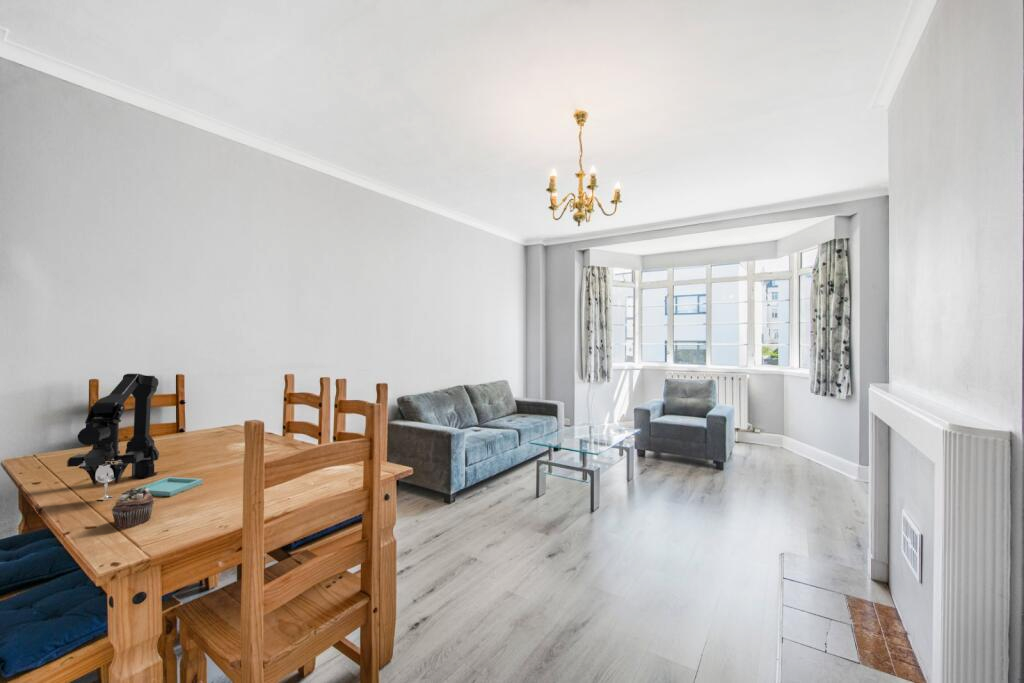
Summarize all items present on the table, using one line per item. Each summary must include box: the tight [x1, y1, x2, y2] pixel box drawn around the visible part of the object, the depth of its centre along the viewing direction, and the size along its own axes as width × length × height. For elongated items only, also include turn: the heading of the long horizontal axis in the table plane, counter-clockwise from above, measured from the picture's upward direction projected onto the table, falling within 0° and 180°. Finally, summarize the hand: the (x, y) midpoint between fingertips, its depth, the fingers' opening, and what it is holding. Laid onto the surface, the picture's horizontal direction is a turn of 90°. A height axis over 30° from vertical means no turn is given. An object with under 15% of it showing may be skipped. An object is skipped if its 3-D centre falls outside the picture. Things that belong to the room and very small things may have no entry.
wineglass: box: [95, 461, 117, 499], centre depth 148 cm, size 6×6×12 cm
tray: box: [135, 476, 203, 498], centre depth 159 cm, size 14×14×2 cm
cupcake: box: [111, 487, 155, 528], centre depth 131 cm, size 10×10×10 cm
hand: (106, 484), depth 148 cm, fingers closed on wineglass, 5 cm apart
